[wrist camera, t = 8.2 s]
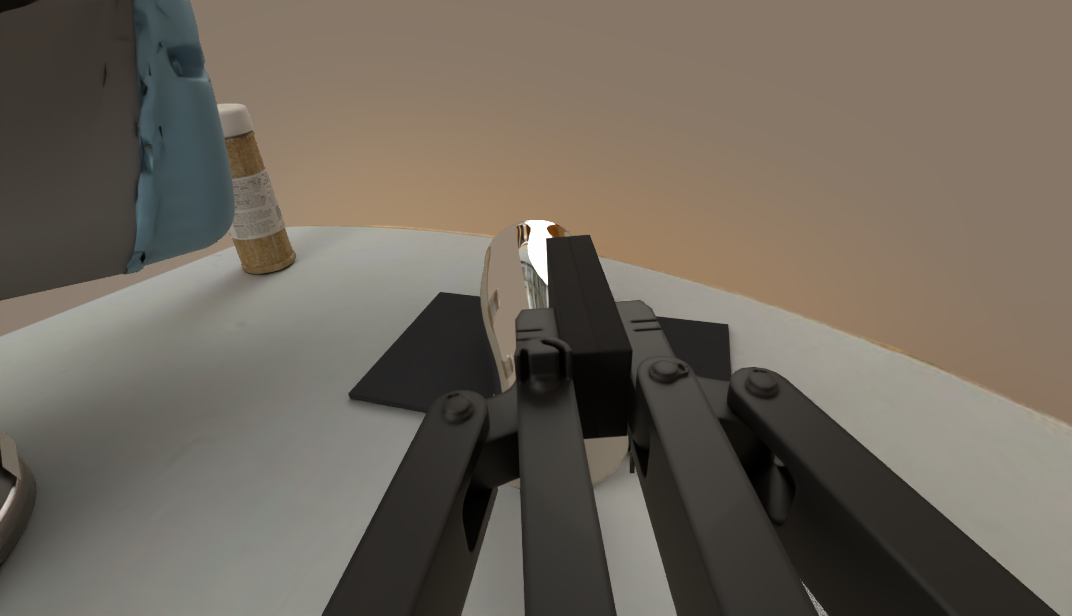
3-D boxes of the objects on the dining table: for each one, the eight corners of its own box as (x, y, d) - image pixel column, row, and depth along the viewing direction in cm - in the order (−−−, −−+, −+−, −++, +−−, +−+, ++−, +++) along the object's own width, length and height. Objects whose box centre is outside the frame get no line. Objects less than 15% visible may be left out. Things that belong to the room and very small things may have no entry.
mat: (349, 398, 29) (347, 393, 28) (440, 296, 38) (440, 291, 38) (734, 470, 23) (736, 464, 23) (727, 329, 33) (728, 324, 33)
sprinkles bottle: (250, 257, 46) (191, 105, 39) (302, 251, 47) (252, 99, 40) (236, 279, 43) (167, 115, 35) (292, 272, 43) (235, 109, 36)
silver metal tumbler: (545, 518, 23) (527, 323, 35) (671, 452, 21) (606, 267, 33) (437, 452, 20) (458, 261, 32) (573, 365, 18) (541, 194, 30)
